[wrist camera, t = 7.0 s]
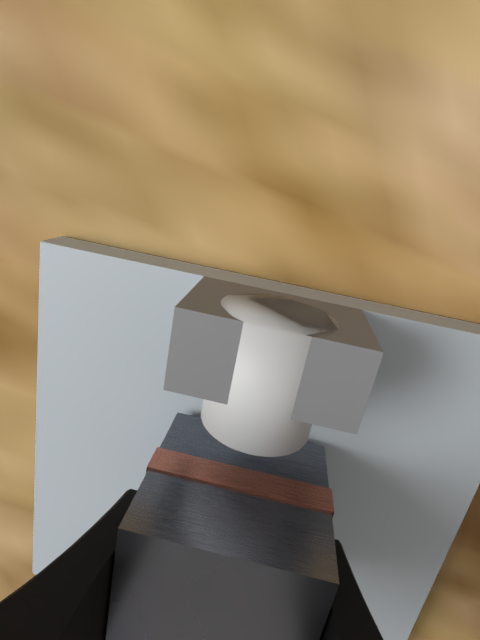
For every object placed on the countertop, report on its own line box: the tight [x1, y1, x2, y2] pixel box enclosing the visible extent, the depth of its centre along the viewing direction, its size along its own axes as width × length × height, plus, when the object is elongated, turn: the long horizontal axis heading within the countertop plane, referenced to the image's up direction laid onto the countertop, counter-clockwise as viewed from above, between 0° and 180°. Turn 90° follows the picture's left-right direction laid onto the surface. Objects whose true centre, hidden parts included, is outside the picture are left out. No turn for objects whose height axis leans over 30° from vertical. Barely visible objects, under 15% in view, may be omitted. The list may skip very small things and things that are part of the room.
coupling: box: [106, 413, 339, 640], centre depth 11 cm, size 5×5×4 cm
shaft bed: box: [33, 236, 480, 640], centre depth 13 cm, size 13×14×4 cm
